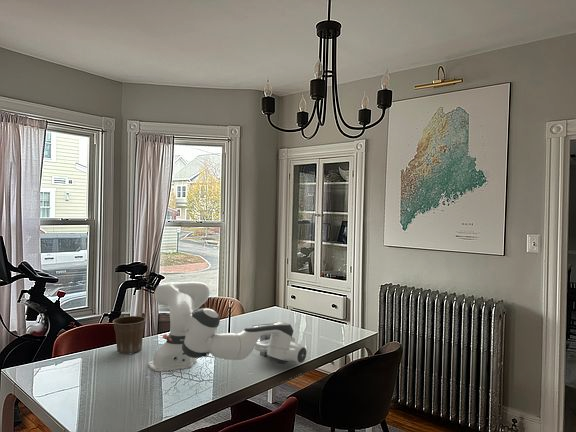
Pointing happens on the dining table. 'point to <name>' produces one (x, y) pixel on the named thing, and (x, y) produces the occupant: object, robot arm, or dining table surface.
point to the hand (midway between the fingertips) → (264, 340)
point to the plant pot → (129, 333)
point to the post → (262, 338)
